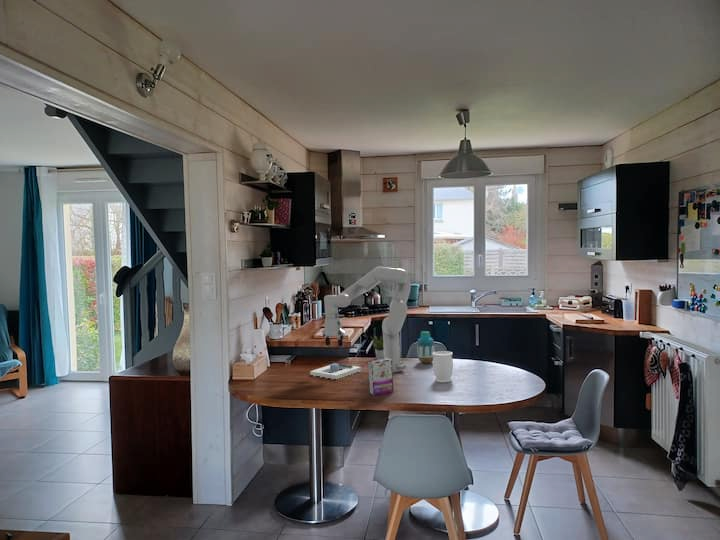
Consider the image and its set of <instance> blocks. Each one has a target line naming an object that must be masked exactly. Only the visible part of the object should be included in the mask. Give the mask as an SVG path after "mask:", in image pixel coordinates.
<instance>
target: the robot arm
mask: <svg viewBox="0 0 720 540" xmlns="http://www.w3.org/2000/svg"><path fill="white" fill-rule="evenodd" d="M381 282H382V283H389V284H395V290H394V293H393V296H392V299H391V301H390V304H389V307H388V309H389V313H388V316H386V317H385V318H384V319H383V320H382V322H381V324H382V325H381V329H382V338H383V339H382V342H383V345H384V359H385V358H389V359H391V360H392V373H399V372H403V371H404V370H405V369H406V365H405V364H403V362H401V347H400V346H401V345H400V343H401V340H400V332H401V330H402V328H403V325H404V322H405V320H406V317H407V315H408V310H409V309H408V305H407V303H408V300H409V297H410V293H411V290H412V289H411V281H410V278H409V273H408V272H407V270H405V269H403V268H392V267H384V266H381V265H380V266H379V265H378V266H376V267H374V268H372V269H371V270H370V271H369V272H368V273H366V274H365V275H364V276H362V277H361V278H360V279H358V280H357V281H355V282H354V283H352V284H351V285H350V286H348V287H347V288H345V289H344V290H343V291H342V292H341V293H339V294H338V295H336V294H328V295H325V296H324V297H323V302H324V303H323V305H324V317H325V319H324V329H321V334H322V337H324V339H325V340H324V341H325V346H331V338H330V337H336V338H337V345H338V346H337V347H343V339H344V337H345V334H346V332H345V331H344V330H343V327H342V321H341V318H340V314H339V308H347V307H348V306H349V305H350V304H351V302H352V301H353V300H354V299H356V298H357V297H359V296H360V295H363V294H365V293H367V292H369V291H370V290H372V289H373V288H375V287H376V286H377V285H378V284H380V283H381Z"/></svg>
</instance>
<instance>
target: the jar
mask: <svg viewBox="0 0 720 540" xmlns="http://www.w3.org/2000/svg"><path fill="white" fill-rule="evenodd" d="M432 354H433V356H434V357H433V361H432V369H433V372H434V376H435V379H434V380H435V382H436V383H442V384H443V383H445V384H446V383H450V382H452V375H453V370H454V361H453V352H452V351H449V350H448V351H446V350H439V351H435V352H433V353H432Z"/></svg>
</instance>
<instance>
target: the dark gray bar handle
mask: <svg viewBox="0 0 720 540" xmlns="http://www.w3.org/2000/svg"><path fill="white" fill-rule="evenodd" d="M332 364H338V366H343V367H349V368H353V366H354V365H353V364H344V363H338V362H333V363H332Z"/></svg>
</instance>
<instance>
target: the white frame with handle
mask: <svg viewBox="0 0 720 540" xmlns="http://www.w3.org/2000/svg"><path fill="white" fill-rule="evenodd" d="M341 369H342V370H341ZM329 372H330V364H328V365H325V366H322V367H319V368H316V369H313V370H310V371H309V373H310V375H313V376H312V377H316V376H320V377H319V378H322V377H325V378H324V379H328V378H331V379H330V380H334V379H338V380H340V379H339V378H341V379H343V378H346V377H349V376H352V375H354V373H355V374H357V372H358V373H360V372H362V367H361V366H356V365H353V368H349V367H343V366H339V371H337V372H334V373H329ZM351 374H352V375H351ZM348 375H349V376H348ZM345 376H346V377H345ZM342 377H343V378H342Z"/></svg>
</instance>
